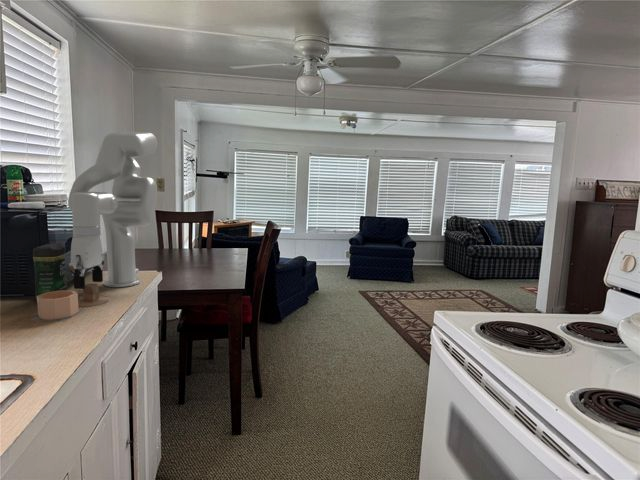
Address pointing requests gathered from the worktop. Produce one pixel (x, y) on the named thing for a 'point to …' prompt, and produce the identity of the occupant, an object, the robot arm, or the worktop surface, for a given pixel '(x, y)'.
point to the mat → (59, 319)
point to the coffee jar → (49, 268)
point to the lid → (92, 296)
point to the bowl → (57, 304)
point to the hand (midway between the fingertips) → (89, 285)
